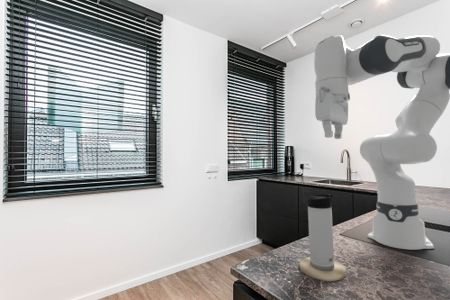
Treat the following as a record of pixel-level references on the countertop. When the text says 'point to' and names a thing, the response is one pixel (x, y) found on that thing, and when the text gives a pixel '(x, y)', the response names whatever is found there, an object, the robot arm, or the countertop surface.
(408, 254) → the countertop surface
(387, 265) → the countertop surface
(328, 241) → the travel mug
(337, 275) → the gold round coaster
